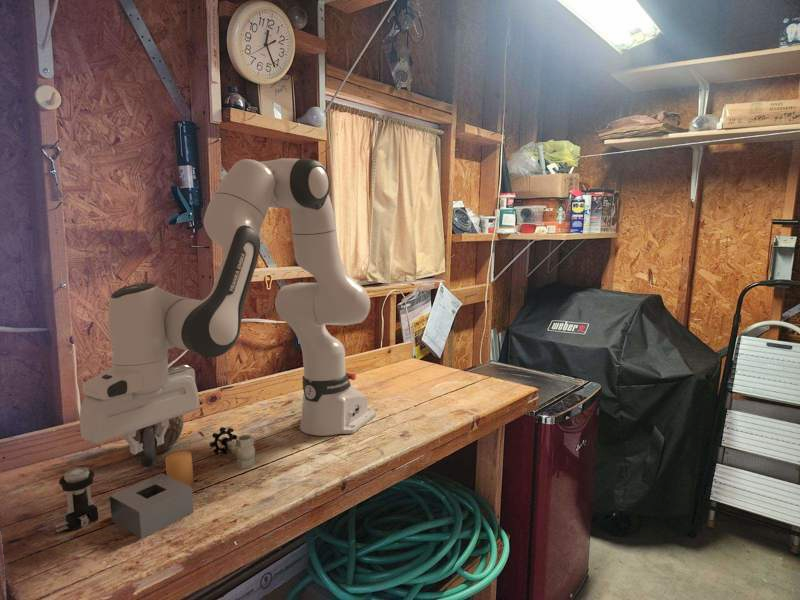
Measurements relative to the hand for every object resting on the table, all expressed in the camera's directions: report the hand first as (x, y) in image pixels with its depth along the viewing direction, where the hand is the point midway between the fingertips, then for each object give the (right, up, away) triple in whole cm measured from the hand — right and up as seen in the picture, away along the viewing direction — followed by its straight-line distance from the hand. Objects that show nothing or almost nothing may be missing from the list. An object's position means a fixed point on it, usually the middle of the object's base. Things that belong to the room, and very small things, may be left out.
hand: (147, 448), depth 91 cm
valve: (+8, -10, +25) cm, 28 cm away
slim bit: (0, -3, 0) cm, 3 cm away
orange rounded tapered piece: (0, -12, +14) cm, 18 cm away
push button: (-12, -14, -1) cm, 19 cm away
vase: (-14, -10, +31) cm, 36 cm away
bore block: (0, -13, +2) cm, 13 cm away
